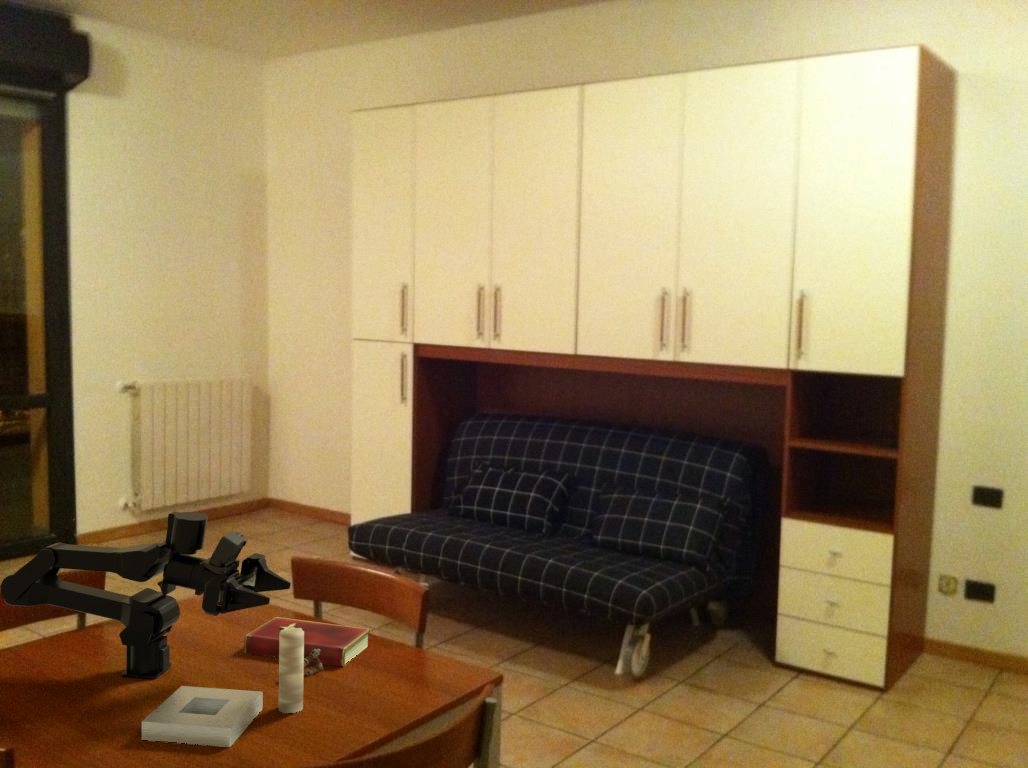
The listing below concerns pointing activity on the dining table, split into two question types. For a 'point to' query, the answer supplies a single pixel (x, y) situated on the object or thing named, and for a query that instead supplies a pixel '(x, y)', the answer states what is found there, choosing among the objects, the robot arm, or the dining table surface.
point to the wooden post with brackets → (312, 655)
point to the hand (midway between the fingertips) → (280, 593)
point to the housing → (203, 716)
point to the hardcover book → (310, 640)
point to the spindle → (291, 670)
